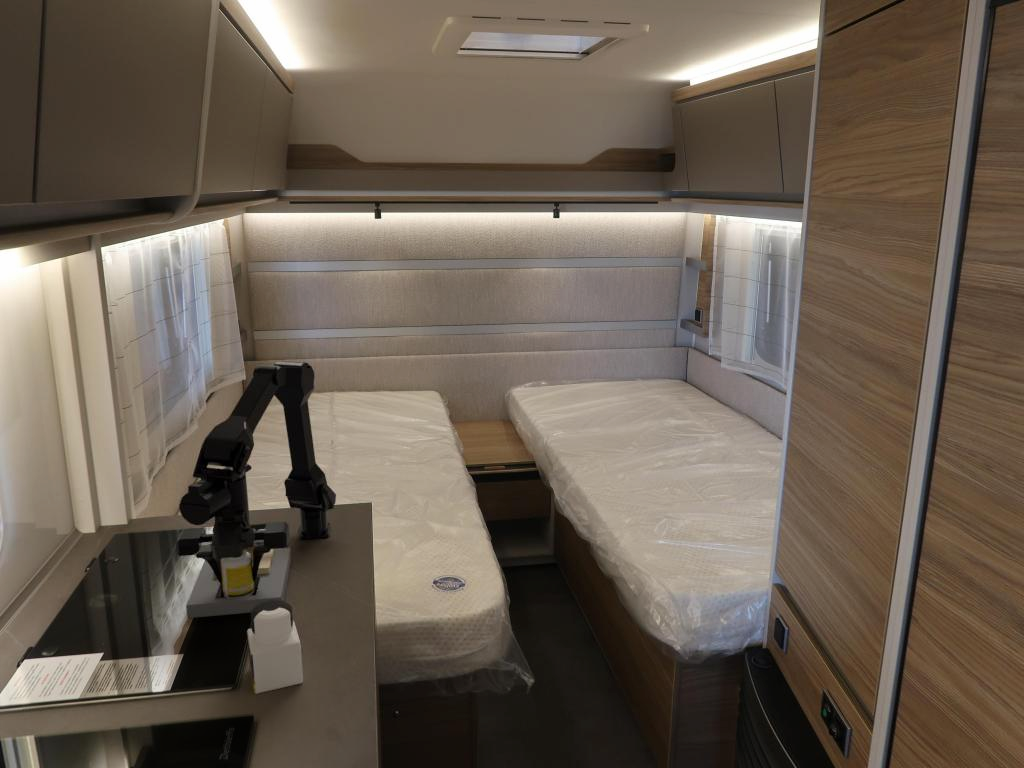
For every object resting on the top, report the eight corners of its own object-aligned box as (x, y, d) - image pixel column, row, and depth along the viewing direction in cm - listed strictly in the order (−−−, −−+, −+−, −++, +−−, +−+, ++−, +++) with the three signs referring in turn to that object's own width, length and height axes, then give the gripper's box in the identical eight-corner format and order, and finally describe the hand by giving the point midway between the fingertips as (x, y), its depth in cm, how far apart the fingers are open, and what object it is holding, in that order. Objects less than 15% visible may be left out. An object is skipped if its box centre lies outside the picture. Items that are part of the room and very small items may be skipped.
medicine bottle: (250, 668, 122) (244, 600, 119) (296, 658, 125) (291, 591, 122) (254, 695, 116) (248, 623, 113) (303, 683, 119) (298, 613, 116)
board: (208, 565, 155) (207, 553, 155) (291, 558, 158) (290, 547, 158) (187, 618, 136) (186, 605, 136) (281, 609, 139) (280, 597, 139)
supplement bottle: (260, 592, 143) (256, 543, 141) (234, 604, 139) (230, 554, 136) (243, 583, 146) (239, 535, 144) (217, 595, 142) (212, 545, 140)
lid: (222, 553, 155) (220, 524, 153) (274, 549, 157) (272, 521, 155) (213, 577, 145) (211, 547, 144) (269, 573, 147) (267, 543, 146)
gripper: (164, 524, 129) (174, 609, 132) (281, 516, 132) (287, 599, 136) (179, 498, 139) (187, 577, 143) (286, 491, 143) (292, 568, 146)
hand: (238, 581), depth 142 cm, fingers closed on supplement bottle, 5 cm apart
